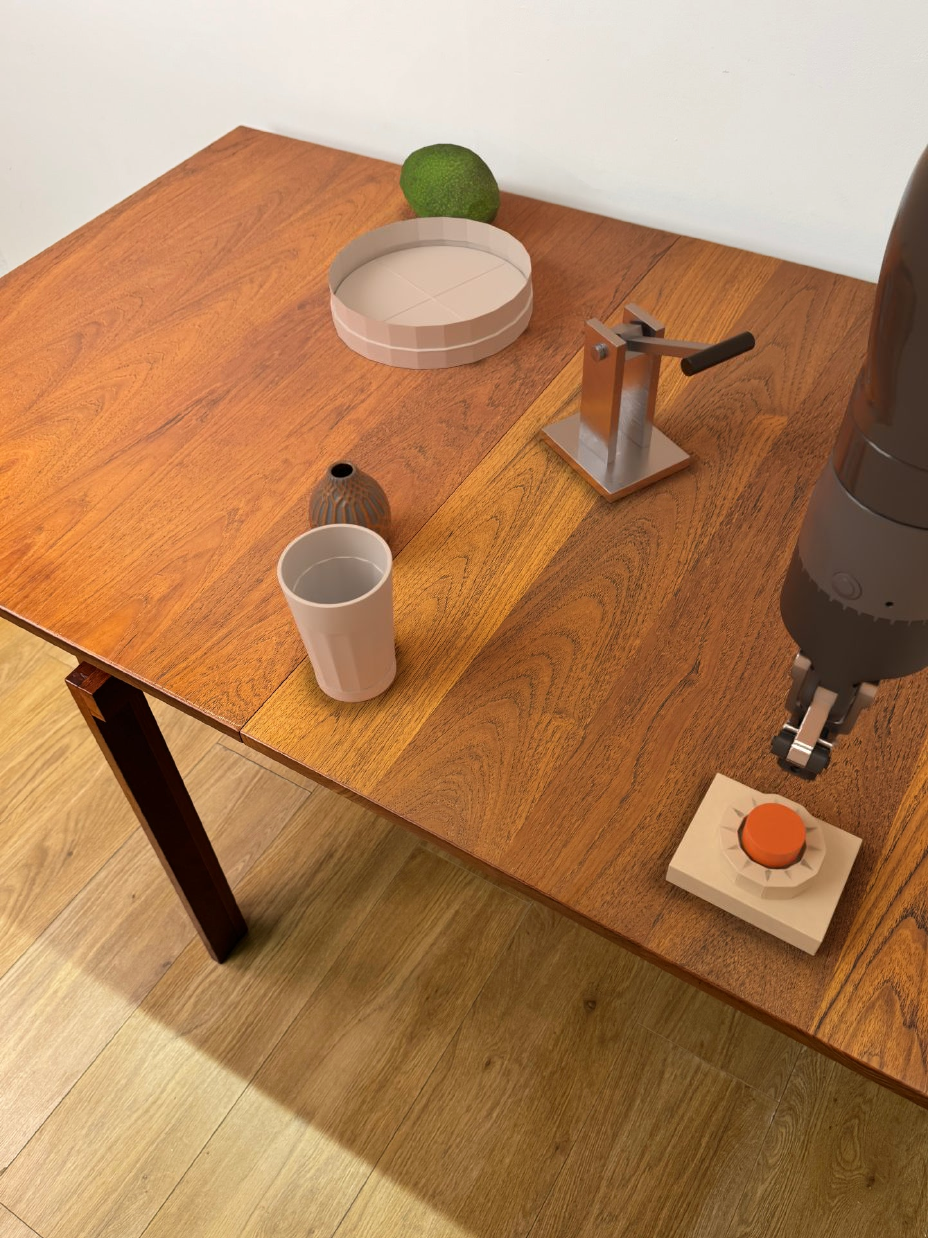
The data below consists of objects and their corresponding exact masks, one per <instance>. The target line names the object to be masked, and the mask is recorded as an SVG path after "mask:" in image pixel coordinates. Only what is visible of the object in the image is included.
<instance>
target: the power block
mask: <svg viewBox="0 0 928 1238" xmlns="http://www.w3.org/2000/svg"><path fill="white" fill-rule="evenodd" d="M765 803H777V804H781V805H784V806H787V807H788V808H790V809H792V810H793V811H794V812H796V813H797V814H798V815H799V817H800V818H801V819H802V821H803V823H804V826H805V829H806V838H805V841H804V844H803V846H802V848H801V850H800V852H799V854H798V856H797V858H796V859H795V860H794V861H793V862H792V863H790V864H788V865H786V866H783V867H768V866H765V865H762V864H760V863H758V862H757V861H755V860H754V859H753V858H751V857H750V855H749V854H748V853H747V852H746V850H745V848H744V846H743V843H742V832H743V829H744V826H745V823H746V820H747V817H748V815H749V813H750V812H751V811H752V810H753V809H754V808H755V807H757V806H759V805H761V804H765ZM862 843H863V838H860V837H859V836H857V835H854V834H852V833H850V832H849V831H845V830H843V829H841V828H839V827H837V826H835V825H833V824H830V823H828V822H826V821H824V820H823V819H820V818H817V817H815V816H813V815H812V814H811V813H810V812H809V811H808V810H807V808H805V806H804V805H802V804H800V803H798V802H795V801H793V800H791V799H789V798H787V797H784V796H783V795H781V794H777V793H763V792H761V791H760V790H759V791H758V789H754V788H752V787H750V786H748V785H746V784H743V783H741V782H739V781H737V780H735V779H733V778H731V777H728V776H727V775H724V774H722V773H720V772H717V773H715V776H714V778H713V780H712V782H711V784H710V786H709V787H708V790H707V791H706V794H705V795H704V797H703V799H702V801H701V803H700V805H699V807H698V809H697V811H696V813H695V814H694V817H693V818H692V820H691V822H690V824H689V825H688V828H687V830H686V831H685V833H684V835H683V838H682V839H681V841H680V843H679V845H678V846H677V848H676V851H675V853H674V854H673V856H672V858H671V860H670V862H669V864H668V868H667V872H666V876H665V880H666V881H667V882H669V883H671V884H673V885H675V886H676V887H678V888H680V889H682V890H684V891H687V892H688V893H690V894H692V895H694V896H696V897H698V898H700V899H702V900H704V901H706V902H707V903H710V904H712V905H714V907H715V906H716V907H718V908H719V909H722V910H723V911H725V912H727V913H729V914H731V915H733V916H735V917H737V918H739V919H740V920H743V921H745V922H747V923H749V924H751V925H753V926H755V927H756V928H759V929H760V930H762V931H764V932H766V933H768V934H770V935H772V936H774V937H776V938H778V939H780V940H782V941H784V942H786V943H787V944H789V945H791V946H794V947H795V948H797V949H799V950H801V951H803V952H805V953H807V954H809V955H812V956H815V955H816V953H817V952H818V950H819V948H820V947H821V945H822V943H823V940H824V938H825V936H826V933H827V931H828V928H829V926H830V923H831V921H832V918H833V915H834V914H835V910H836V908H837V906H838V904H839V901H840V899H841V896H842V893H843V891H844V888H845V885H846V883H847V881H848V878H849V876H850V873H851V871H852V869H853V865H854V863H855V861H856V858H857V856H858V853H859V850H860V849H861V846H862Z"/></svg>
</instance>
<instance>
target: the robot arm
mask: <svg viewBox="0 0 928 1238" xmlns="http://www.w3.org/2000/svg"><path fill="white" fill-rule="evenodd" d="M888 235H889V236H888V239H887V243H886V246H885V249H884V253H883V258H882V262H881V265H880V270H879V275H878V280H877V285H876V290H875V295H874V301H873V308H872V313H871V318H870V319H871V320H870V325H869V333H868V338H867V339H868V341H867V348H866V349H867V350H866V356H865V358H864V360H863V363H862V365H861V367H860V369H859V371H858V374H857V376H856V378H855V381H854V383H853V386H852V389H851V392H850V396H849V399H848V401H847V405H846V408H845V411H844V415H843V416H842V417H843V418H842V421H841V423H840V427H839V430H838V433H837V436H836V439H835V442H834V445H833V448H832V450H831V452H830V455H829V457H828V459H827V461H826V462H825V465H824V467H823V469H822V471H821V472H820V474H819V476H818V478H817V480H816V483H815V484H814V486H813V490H812V492H811V496H810V498H809V502H808V505H807V508H806V510H805V514H804V518H803V521H802V523H801V527H800V530H799V533H798V536H797V540H796V542H795V546H794V549H793V552H792V555H791V559H790V562H789V565H788V568H787V571H786V575H785V576H784V581H783V584H782V587H781V590H780V595H779V612H780V616H781V620H782V622H783V625H784V627H785V629H786V631H787V632H788V634H789V636H790V638H791V639H792V640H793V641H794V643H795V644H796V645H797V646H798V647H799V649H798V652H797V655H796V656H795V659H794V661H793V664H792V667H791V670H790V673H789V677H790V678H791V680H792V682H791V686H790V689H789V691H788V694H787V697H786V700H785V702H784V709H785V710H786V711H787V712H788V713H789V714H790V716H788V719H787V720H786V721H784V723H783V726H782V728H781V729H780V730H779V732H778V734H777V735H776V734H774V736H773V737H772V740H771V742H770V744H769V745H770V746H772V747H771V749H770V755H773V756H775V757H778V758H777V761H776V764H777V766H778V767H779V768H781V769H780V770H781V771H782V772H785V773H787V774H789V775H792V776H794V777H796V778H798V779H801V780H803V781H805V782H806V781H814V780H816V779H817V777H818V776H821V775H822V773H823V771H824V770H826V771H827V770H828V768H829V766H830V765H831V761H832V756H830V755H831V753H832V750H833V748H836V747H837V745H838V743H839V741H840V737H838V736H848V735H850V734H851V733H852V731H853V729H854V727H855V725H856V723H857V720H858V719H859V716H860V714H861V713H862V710H865V709H869V708H870V707H871V704H872V702H873V701H874V699H875V696H876V694H877V692H878V690H879V688H880V687H881V683H882V681H885V680H894V679H900V678H905V677H909V676H912V675H914V674H917V673H919V672H921V671H923V670H924V669H926V668H928V143H927V144H926V145H925V147H924V149H923V150H922V151H921V154H920V155H919V157H918V159H917V161H916V163H915V165H914V167H913V169H912V171H911V173H910V175H909V178H908V179H907V182H906V185H905V187H904V190H903V193H902V195H901V197H900V201H899V204H898V206H897V210H896V213H895V216H894V219H893V222H892V225H891V229H890V231H889V234H888Z"/></svg>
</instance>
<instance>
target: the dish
mask: <svg viewBox="0 0 928 1238" xmlns="http://www.w3.org/2000/svg"><path fill="white" fill-rule="evenodd" d="M327 281H328V286H329V292H330V302H329V304H330V310H331V317H332V323H333V326H334V327H335V331H336V334H337V337H339V338H340V340H341V341H342V342H343V343H344V344H345V345H346V346H347V347H348V348H349V349H350V350H351V351H353V352H355V353H357V354H358V355H360V356H362V357H364V358H366V359H367V360H369V361H372V362H376V363H378V364H379V363H380V364H383V365H386V366H390V367H393V368H401V369H402V368H403V369H412V370H435V369H438V370H439V369H448V368H453V367H459V366H463V365H468V364H473V363H476V362H478V361H481V360H483V359H486V358H488V357H491V356H493V355H496V354H498V353H499V352H501V351H502V350H504V349H505V348H507V347H508V346H511V344H513V343H514V342H516V341H517V339H518V338H519V337H520V336H521V335H522V334H523V333H524V332H525V330H526V329H528V327H529V323H530V320H531V318H532V314H533V310H534V309H533V307H534V305H533V304H534V290H533V283H532V263H531V256H530V254H529V253H528V251H527V250H526V248H525V246H524V245H523V243H522V242H521V241H519V240H518V239H517V238H515V237H514V236H513V235H511V234H510V233H509V232H507V231H506V230H503V229H501V228H499V227H496V226H494V225H492V224H491V225H489V224H486V223H481V222H477V221H473V220H469V219H461V218H450V217H430V218H418V217H415V218H411V219H406V220H399V221H394V222H391V223H388V224H384V225H381V226H378V227H376V228H373V229H370V230H369V231H367V232H365V233H362V234H361V235H360V236H358V237H355V238H354V239H352V240H351V241H350V242H348V244H346V245H345V246H344V247H343V248H342V249H340V250H339V251H338V252H337V254H336V256H335V257H334V259H333V260H332V262H331V263H330V265H329V271H328V279H327Z"/></svg>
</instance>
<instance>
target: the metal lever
mask: <svg viewBox="0 0 928 1238" xmlns="http://www.w3.org/2000/svg"><path fill="white" fill-rule="evenodd" d="M608 328H609V329H610V330H611V331H613V332H614V333H615V334H616V335H618V336H619V337H620V338H621V339H623V340H624V341H625V342H626V343H627V344H626V354H625V361H628V360H630V359H633V358H635V357H638V356H640V355H642V354H645V353H647V354H655V355H662V356H663V357H671V358H679V359H681V360H680V370H681V372H682V373H683V375H685V376H686V377H688V378H690V377H693V376H695V375H698V374H700V373H702V372H704V371H706V370H709V369H711V368H713V367H715V366H718V365H721V364H723V363H725V362H727V361H729V360H732V359H734V358H737V357H739V356H740V355H743V354H745V353H747V352H750V351H753V349H755V346H756V339H755V336H754V334H752V332H751V331H747V330H746V331H743V332H740V333H738V334H736V335H733V336H731V337H729V338H726V339H724V340H722V341H720V342H718V343H705V342H697V341H689V340H680V339H670V338H664V339H663V338H654V337H645V336H643V333H642V327H641V325H634V324H623V322H621V323H619V324H616V325H614V326H611V327H608Z"/></svg>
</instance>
